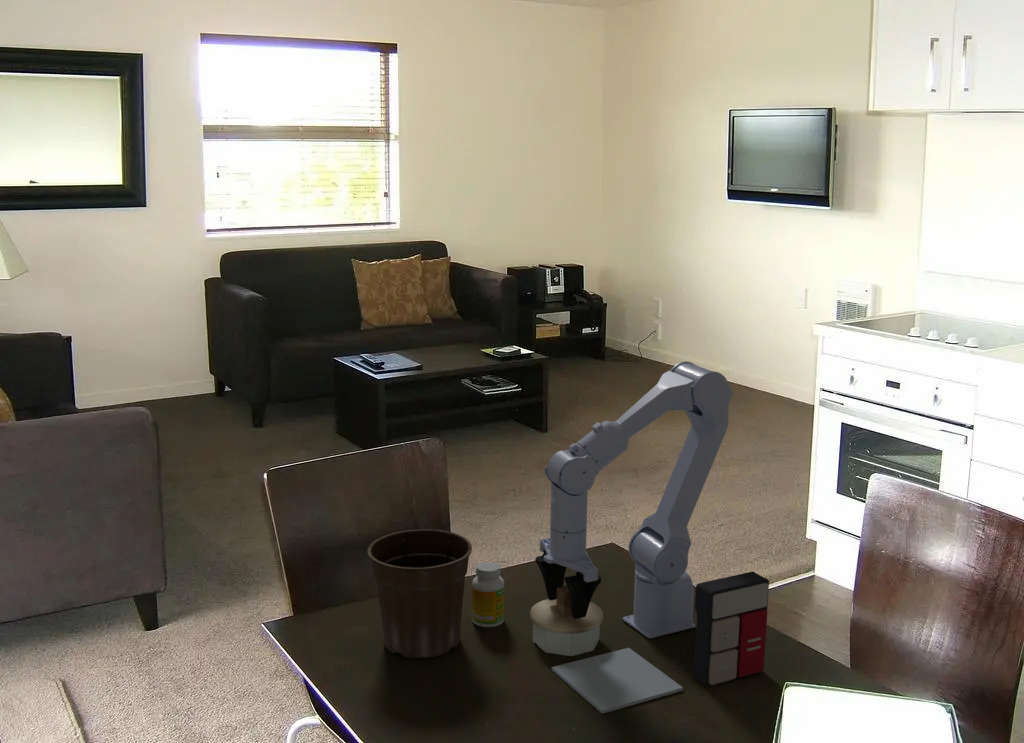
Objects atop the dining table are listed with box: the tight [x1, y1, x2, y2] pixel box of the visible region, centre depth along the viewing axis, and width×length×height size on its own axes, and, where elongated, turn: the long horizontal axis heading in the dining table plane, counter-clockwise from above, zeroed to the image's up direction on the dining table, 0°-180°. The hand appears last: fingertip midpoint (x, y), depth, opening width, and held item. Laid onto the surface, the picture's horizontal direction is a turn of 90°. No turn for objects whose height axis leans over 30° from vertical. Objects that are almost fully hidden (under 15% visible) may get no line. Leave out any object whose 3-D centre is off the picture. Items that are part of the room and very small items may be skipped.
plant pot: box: [367, 528, 473, 659], centre depth 164 cm, size 16×16×16 cm
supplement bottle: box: [471, 561, 505, 628], centre depth 173 cm, size 5×5×10 cm
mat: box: [551, 647, 684, 715], centre depth 155 cm, size 14×14×1 cm
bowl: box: [532, 622, 601, 657], centre depth 167 cm, size 10×10×4 cm
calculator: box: [693, 571, 770, 688], centre depth 155 cm, size 11×4×15 cm, turn 117°
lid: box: [529, 585, 604, 634], centre depth 166 cm, size 12×12×5 cm
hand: (566, 607), depth 166 cm, fingers open, 7 cm apart
